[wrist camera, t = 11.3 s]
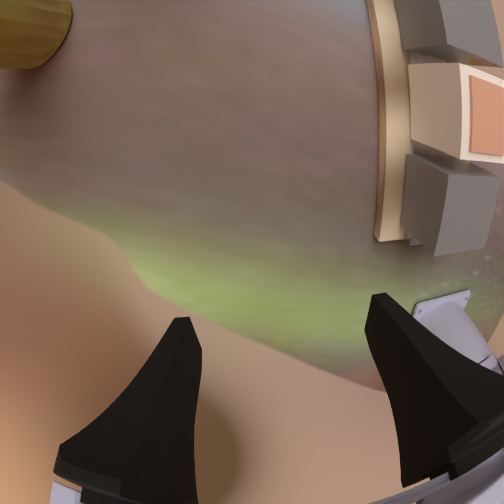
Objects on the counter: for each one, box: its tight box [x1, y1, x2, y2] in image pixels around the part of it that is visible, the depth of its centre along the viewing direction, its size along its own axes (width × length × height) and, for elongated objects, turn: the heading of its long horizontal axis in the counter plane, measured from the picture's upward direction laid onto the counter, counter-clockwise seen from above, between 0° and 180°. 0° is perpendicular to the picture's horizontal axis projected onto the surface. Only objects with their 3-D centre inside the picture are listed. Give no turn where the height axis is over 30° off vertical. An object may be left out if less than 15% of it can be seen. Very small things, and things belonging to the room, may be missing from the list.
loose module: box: [408, 63, 504, 163], centre depth 11 cm, size 5×4×5 cm
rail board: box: [366, 0, 503, 257], centre depth 11 cm, size 20×8×6 cm, turn 7°
